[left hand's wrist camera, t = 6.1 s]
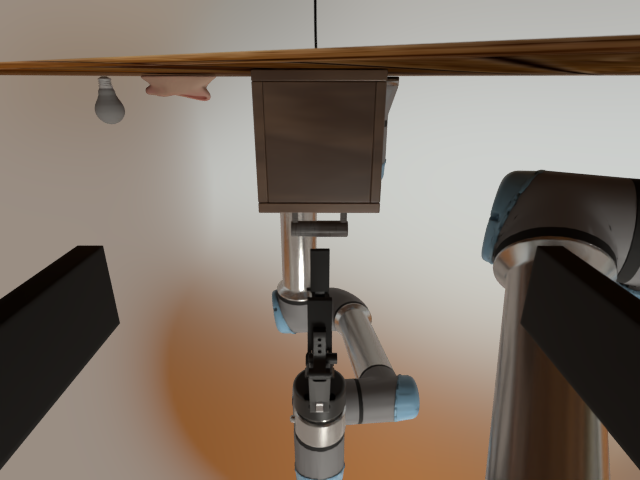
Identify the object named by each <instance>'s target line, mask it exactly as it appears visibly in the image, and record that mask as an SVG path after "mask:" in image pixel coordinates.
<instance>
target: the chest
mask: <svg viewBox="0 0 640 480" xmlns="http://www.w3.org/2000/svg"><path fill="white" fill-rule="evenodd" d="M387 74H388V70H387V69H251V80H252V99H253V116H254V134H255V151H256V168H257V186H258V201H259V202H292V203H369V202H371V203H379V202H380V192H381V175H382V158H383V141H384V124H385V107H386V91H387V82H386V81H387Z"/></svg>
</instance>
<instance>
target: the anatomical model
mask: <svg viewBox="0 0 640 480" xmlns="http://www.w3.org/2000/svg"><path fill="white" fill-rule="evenodd" d="M215 77H216V76H195V75H145V76H141V78H142V79H144V80H145V81H147V82H148V83H149V84H150V86H148V87H147V88H146V93H147V94H151V95H157V96H163V97H165V96H172V95H178V96H183V97H187V98H192V99H196V100H202V101H207V100H209V99H210V93H209V92H208V90H207V89H206V87H207V85H208V84H209V83H210V82H211V81H212V80H213V79H214V78H215Z"/></svg>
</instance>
